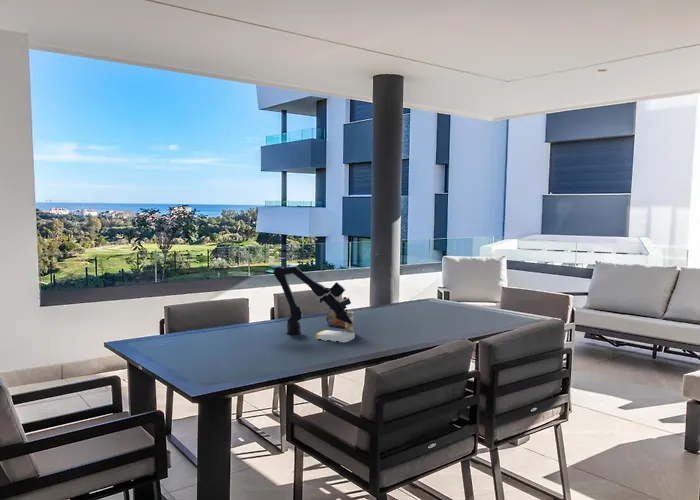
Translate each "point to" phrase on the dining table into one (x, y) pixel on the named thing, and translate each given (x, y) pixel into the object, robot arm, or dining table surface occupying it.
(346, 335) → the dock
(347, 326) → the beige tall block
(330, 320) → the tin
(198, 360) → the dining table surface
